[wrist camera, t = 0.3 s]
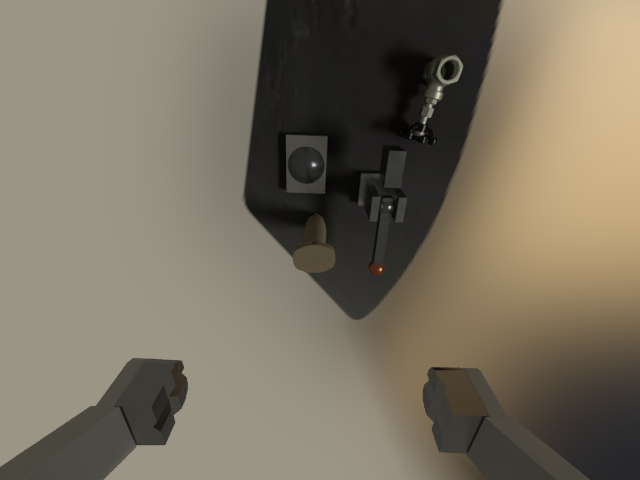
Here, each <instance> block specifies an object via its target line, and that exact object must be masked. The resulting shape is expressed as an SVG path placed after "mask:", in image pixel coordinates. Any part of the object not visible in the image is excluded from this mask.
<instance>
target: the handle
mask: <svg viewBox="0 0 640 480" xmlns="http://www.w3.org/2000/svg"><path fill="white" fill-rule="evenodd" d="M325 241H326V225H325V222H324V218H323V217H322V216H319V215H318V214H317V213H314V214H313V215H312V216H310V217H308V219H307V223H306V225H305V230H304V243H303V244H301V245H299V246H297V247H296V249H295V251H294V255H293V262H294V265H295V267H296V268H297V269H299V270H302V271H305V272H308V273H320V272H324V271H326V270H329V269H331V268H332V267H333V266H334V264H335V252H334V249H333V248H332V246H330V245H328V244H326V243H325Z"/></svg>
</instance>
